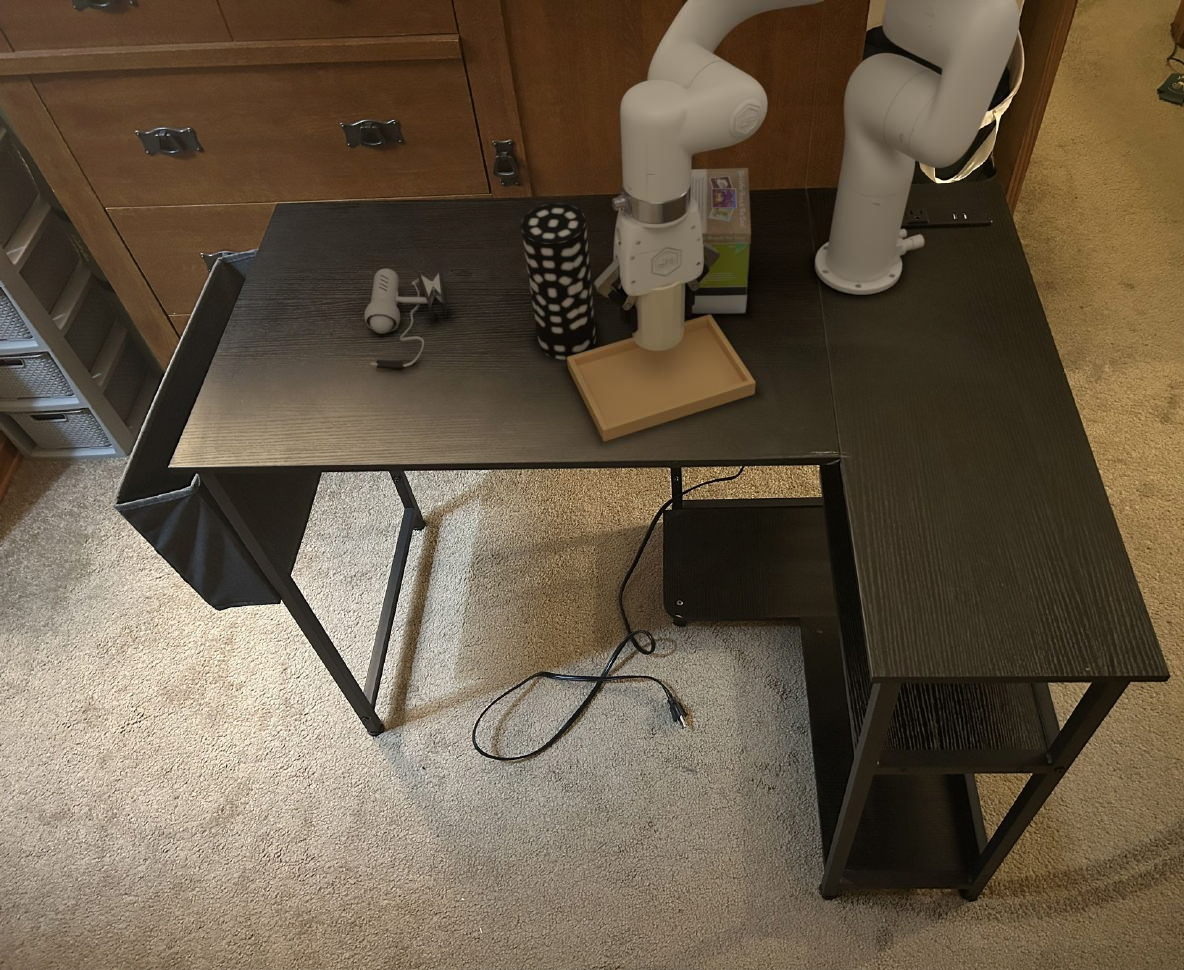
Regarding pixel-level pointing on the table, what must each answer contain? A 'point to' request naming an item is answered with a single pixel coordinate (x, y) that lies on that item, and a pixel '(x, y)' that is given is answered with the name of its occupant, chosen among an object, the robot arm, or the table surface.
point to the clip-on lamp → (386, 313)
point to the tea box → (724, 238)
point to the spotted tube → (559, 279)
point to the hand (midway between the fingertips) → (657, 317)
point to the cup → (660, 317)
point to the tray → (659, 379)
